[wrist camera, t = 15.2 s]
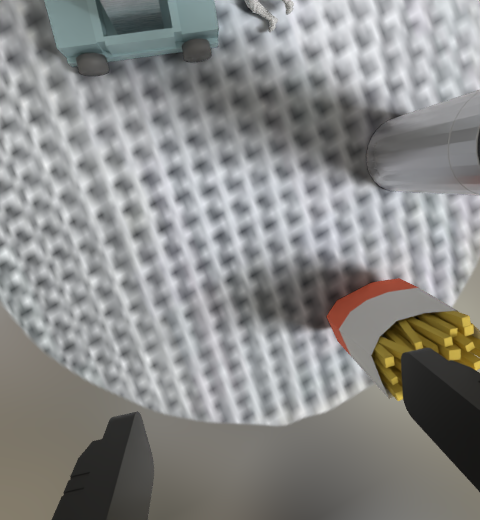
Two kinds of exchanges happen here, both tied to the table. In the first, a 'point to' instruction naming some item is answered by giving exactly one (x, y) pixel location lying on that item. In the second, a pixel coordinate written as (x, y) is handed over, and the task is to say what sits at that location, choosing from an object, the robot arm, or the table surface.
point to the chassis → (132, 44)
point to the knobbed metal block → (134, 15)
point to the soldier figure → (257, 8)
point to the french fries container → (400, 330)
